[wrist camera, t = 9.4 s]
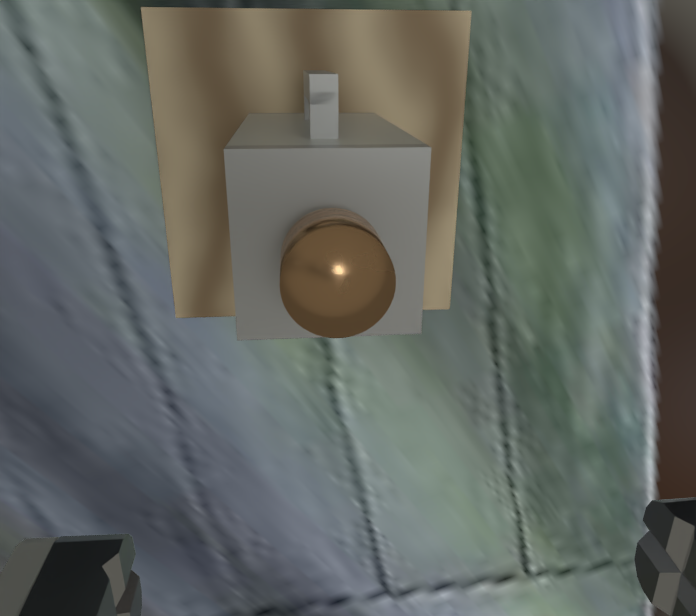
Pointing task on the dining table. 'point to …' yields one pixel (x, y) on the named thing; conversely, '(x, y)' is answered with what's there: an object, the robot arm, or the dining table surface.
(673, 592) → the robot arm
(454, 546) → the dining table surface
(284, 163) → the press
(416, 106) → the board
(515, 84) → the dining table surface
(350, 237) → the plunger
